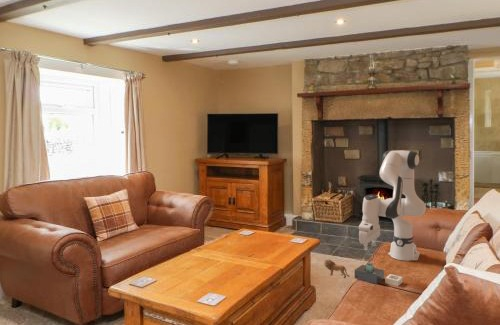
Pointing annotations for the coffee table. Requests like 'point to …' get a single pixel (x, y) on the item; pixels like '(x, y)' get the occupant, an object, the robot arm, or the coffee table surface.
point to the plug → (369, 267)
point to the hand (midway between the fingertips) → (369, 247)
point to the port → (369, 274)
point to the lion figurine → (335, 267)
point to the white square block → (393, 280)
